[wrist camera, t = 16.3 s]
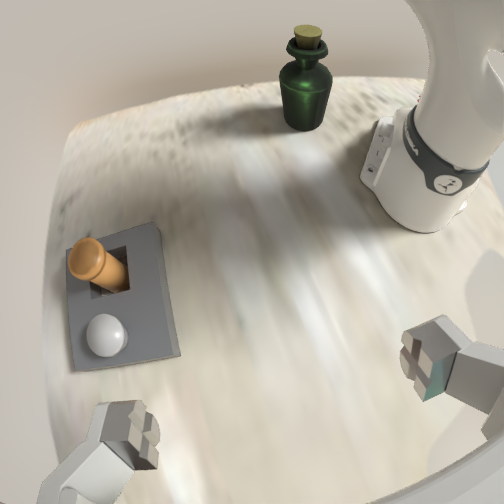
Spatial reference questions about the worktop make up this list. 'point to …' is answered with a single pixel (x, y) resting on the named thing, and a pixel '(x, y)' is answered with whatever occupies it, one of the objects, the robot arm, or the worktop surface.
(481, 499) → the robot arm
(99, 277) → the mushroom head peg
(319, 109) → the potion bottle
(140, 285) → the gray peg hole board
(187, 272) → the worktop surface
